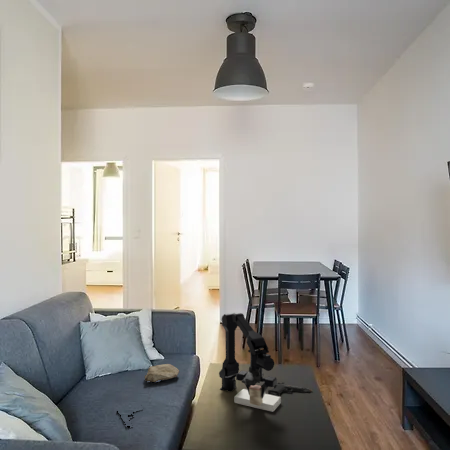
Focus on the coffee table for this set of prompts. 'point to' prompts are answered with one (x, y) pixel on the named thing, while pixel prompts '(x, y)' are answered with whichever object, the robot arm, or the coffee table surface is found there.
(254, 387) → the brown and pink block
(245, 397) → the panel
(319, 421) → the coffee table surface
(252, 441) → the coffee table surface
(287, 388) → the handgun
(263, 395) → the robot arm
